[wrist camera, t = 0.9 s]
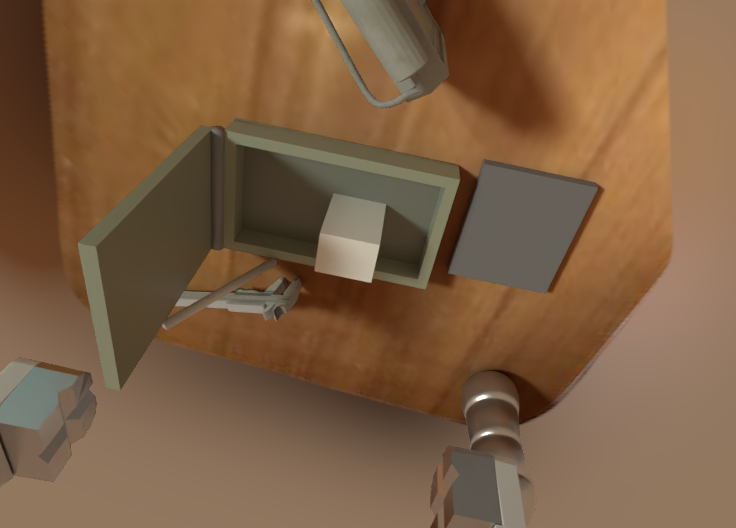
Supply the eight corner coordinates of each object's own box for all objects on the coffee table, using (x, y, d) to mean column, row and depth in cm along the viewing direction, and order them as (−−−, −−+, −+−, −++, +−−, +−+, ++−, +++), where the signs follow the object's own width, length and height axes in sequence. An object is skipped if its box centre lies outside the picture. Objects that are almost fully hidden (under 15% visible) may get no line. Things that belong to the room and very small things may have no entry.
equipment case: (213, 113, 44) (77, 243, 27) (458, 164, 45) (474, 324, 28) (214, 234, 52) (107, 395, 35) (424, 277, 52) (419, 457, 35)
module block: (333, 193, 47) (319, 232, 41) (386, 204, 47) (379, 245, 42) (327, 230, 50) (314, 272, 44) (377, 240, 50) (370, 284, 44)
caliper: (300, 273, 54) (287, 312, 49) (303, 281, 55) (290, 320, 50) (131, 290, 58) (102, 327, 53) (135, 297, 59) (107, 334, 54)
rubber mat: (484, 159, 44) (485, 164, 44) (595, 182, 45) (598, 187, 44) (447, 267, 51) (447, 273, 51) (543, 287, 52) (545, 293, 51)
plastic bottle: (451, 392, 62) (457, 565, 46) (475, 355, 58) (491, 531, 42) (499, 406, 63) (523, 583, 46) (526, 372, 59) (562, 551, 42)
